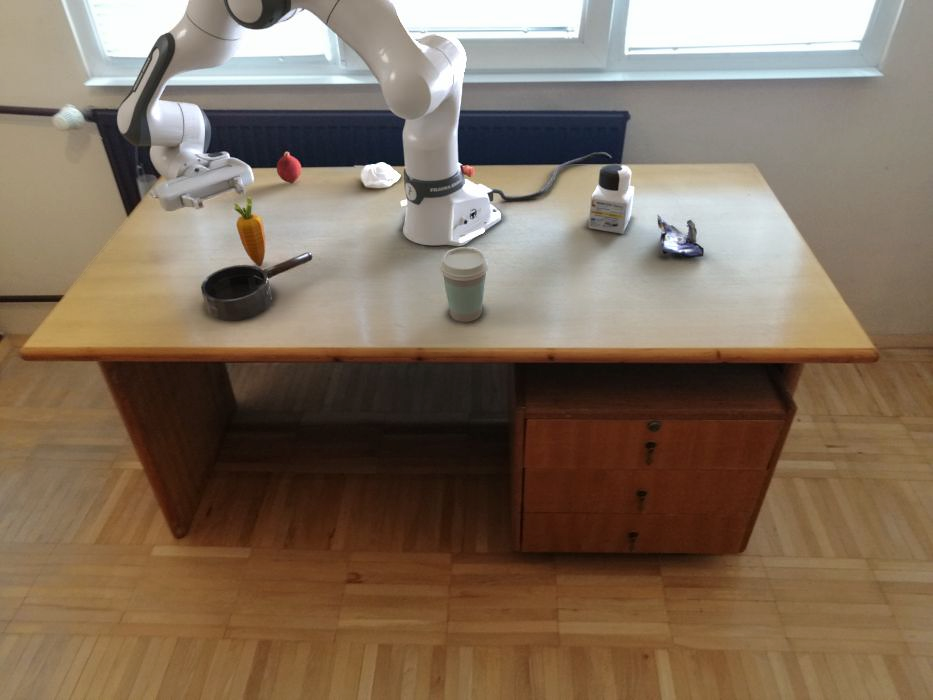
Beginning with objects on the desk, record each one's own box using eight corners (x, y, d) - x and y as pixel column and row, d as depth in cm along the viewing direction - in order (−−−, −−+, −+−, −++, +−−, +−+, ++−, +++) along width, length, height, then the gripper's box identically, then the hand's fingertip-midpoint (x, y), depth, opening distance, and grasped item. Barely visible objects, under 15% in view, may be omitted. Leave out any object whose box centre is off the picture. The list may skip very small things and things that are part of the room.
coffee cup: (496, 306, 135) (496, 251, 128) (475, 331, 129) (474, 275, 122) (456, 295, 138) (454, 241, 131) (434, 319, 133) (430, 263, 125)
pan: (253, 277, 145) (248, 258, 142) (283, 303, 138) (279, 283, 135) (196, 300, 139) (190, 281, 136) (224, 329, 132) (218, 309, 129)
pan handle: (310, 257, 145) (308, 249, 144) (314, 260, 144) (313, 253, 143) (260, 277, 140) (258, 270, 139) (265, 281, 139) (263, 273, 138)
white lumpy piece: (356, 157, 177) (395, 152, 179) (358, 174, 180) (397, 169, 182) (361, 174, 170) (402, 169, 171) (363, 192, 173) (403, 186, 174)
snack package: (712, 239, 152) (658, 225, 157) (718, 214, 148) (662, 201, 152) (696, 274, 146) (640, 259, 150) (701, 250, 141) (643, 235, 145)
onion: (298, 189, 175) (292, 158, 170) (276, 187, 176) (269, 156, 171) (307, 178, 179) (301, 148, 174) (285, 177, 180) (279, 146, 175)
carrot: (251, 275, 146) (233, 208, 136) (244, 263, 149) (227, 198, 140) (274, 268, 147) (259, 202, 138) (268, 257, 151) (253, 192, 141)
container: (587, 228, 157) (593, 173, 148) (596, 212, 162) (602, 158, 154) (623, 234, 154) (630, 178, 146) (630, 217, 160) (638, 163, 152)
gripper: (142, 177, 150) (168, 200, 142) (232, 149, 160) (261, 169, 151) (151, 204, 154) (177, 228, 146) (238, 175, 164) (267, 196, 155)
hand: (221, 197), depth 149 cm, fingers open, 8 cm apart
